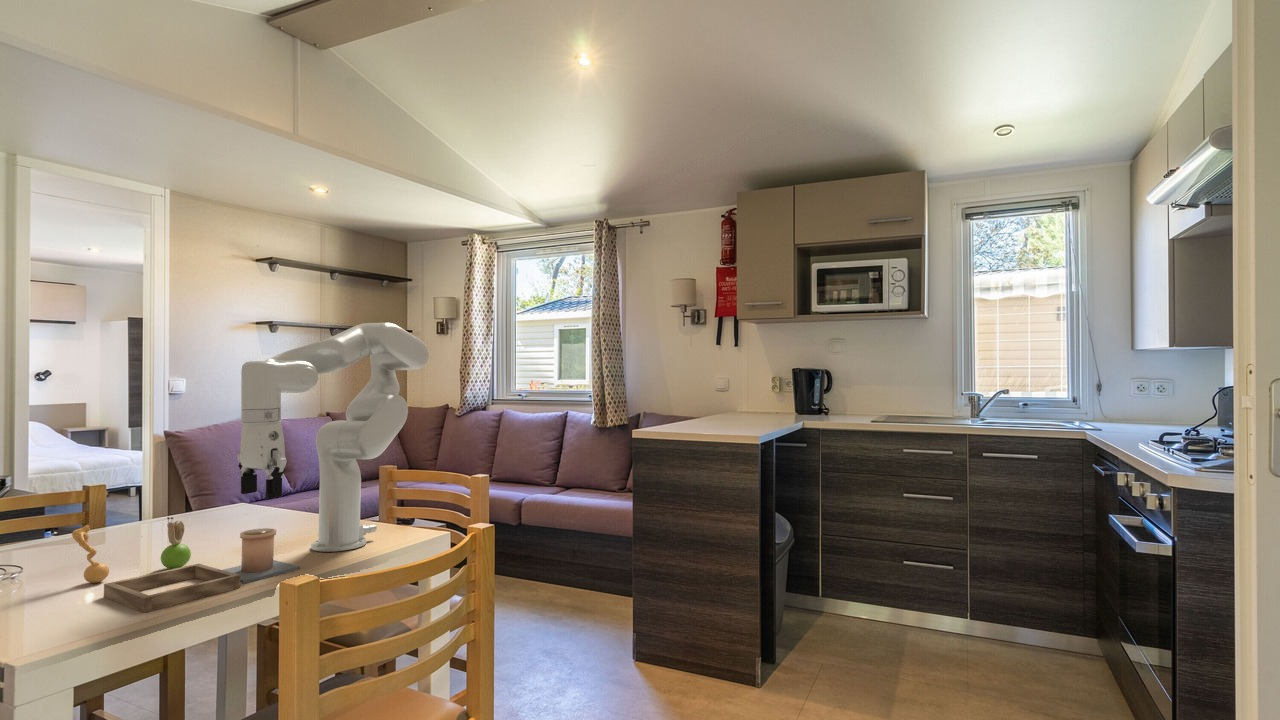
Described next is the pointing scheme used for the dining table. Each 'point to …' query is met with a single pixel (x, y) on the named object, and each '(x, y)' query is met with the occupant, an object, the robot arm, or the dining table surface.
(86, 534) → the figurine
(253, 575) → the grey mat
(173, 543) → the snail figurine
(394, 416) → the robot arm
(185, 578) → the frame
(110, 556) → the dining table surface
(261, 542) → the terracotta pot
